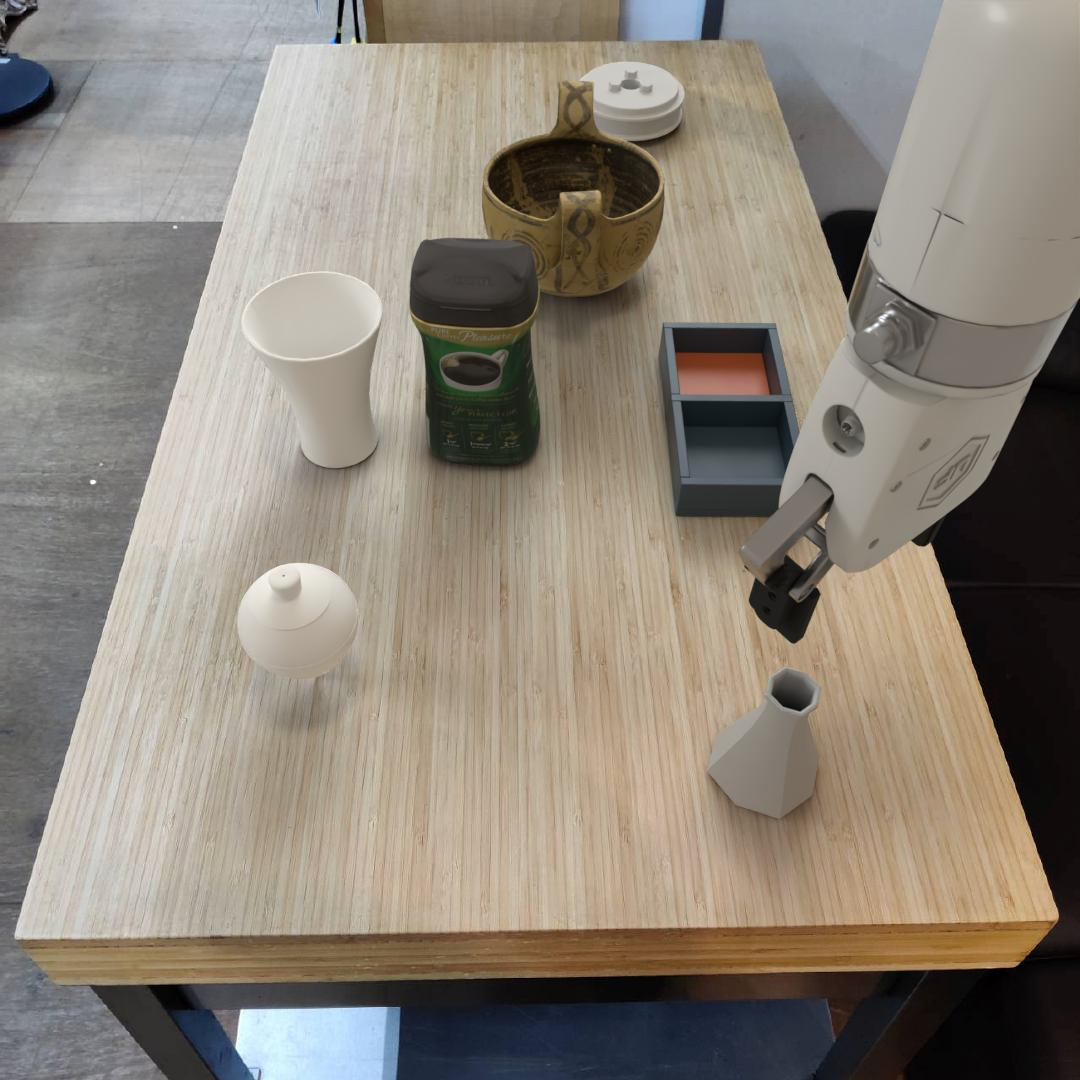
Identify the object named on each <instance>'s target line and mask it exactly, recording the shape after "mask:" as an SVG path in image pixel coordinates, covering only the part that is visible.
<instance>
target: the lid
mask: <svg viewBox="0 0 1080 1080" xmlns="http://www.w3.org/2000/svg"><path fill="white" fill-rule="evenodd" d="M578 81H590V82H594V99H593V114H594V121H595V125H596V127H597V128H598V130H599V131H601V132H602V133H604V134H606V135H608V136H611V137H616V138H620V139H623V140H626V141H628V142H640V141H648V140H652V139H658V138H659V137H663V136H666V135H667V134H670V133H671V132H673V131H674V130H675V129H676V128H677V127H678V126H679V124H680V123H681V122H682V119H683V109H682V105H683V104H684V101H685V94H686V93H685V88H684V86H683V85H682V83H681V82H680V81H679V80H678V79H677V78H676V77H675V76H674V75H672V73H670V72H669V71H667V70H665V69H664V68H661V67H659V66H657V65H654V64H650V63H645V62H639V61H617V62H609V63H605V64H602V65H599V66H597V67H594V68H593V69H591V70H590V71H588V72H587V73H586V74H584V75H583V76H582V77H581V78H580V79H579V80H578Z"/></svg>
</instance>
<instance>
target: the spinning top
mask: <svg viewBox="0 0 1080 1080" xmlns="http://www.w3.org/2000/svg"><path fill="white" fill-rule="evenodd" d="M236 622H237V624H236V625H237V627H236V628H237V633H238V638H239V640H240V644H241V646H242V647H243V649H244V651H245V652H246V653H247V655H248V656H249V657H250V659H251V660H252V661H253V662H254V663H255V664H257V665H258V666H259V667H260V668H262V669H263V670H265V671H267V672H268V673H271V674H274V675H276V676H279V677H283V678H287V679H291V680H310V679H314V678H320V677H321V676H323V675H324V674H327V673H328V672H330V671H331V670H333V669H334V668H335V667H336V666H337V665H338V664H339V663H340V662H341V661H342V660H343V659H344V657H345V656H346V654H347V653H348V652H349V650H350V648H351V646H352V644H353V643H354V641H355V638H356V635H357V631H358V627H359V607H358V604H357V599H356V598H355V595H354V593H353V592H352V590H351V588H350V587H349V585H348V584H347V583H346V581H345V580H344V579H343V578H342V577H341V576H339V574H337V573H335V572H333V571H332V570H330V569H329V568H326V567H324V566H322V565H319V564H314V563H308V562H291V563H284V564H281V565H277V566H275V567H273V568H271V569H269V570H268V571H266V572H264V574H262V575H260V577H258V578H257V579H256V580H254V582H253V583H252V584H251V585H250V586H249V587H248V589H247V590H246V592H245V594H244V596H243V597H242V599H241V602H240V604H239V607H238V611H237V618H236Z"/></svg>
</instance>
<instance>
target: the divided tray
mask: <svg viewBox="0 0 1080 1080" xmlns="http://www.w3.org/2000/svg"><path fill="white" fill-rule="evenodd" d="M779 336H780V335H779V332H778V327H777V324H776V322H685V321H683V322H682V321H681V322H678V321H676V322H675V321H674V322H671V321H669V322H666V321H663V322H662V326H661V333H660V341H659V349H658V358H659V359H658V360H659V370H660V371H659V372H660V380H661V389H662V390H661V391H662V399H663V400H662V401H663V408H664V417H665V419H664V420H665V428H666V437H667V446H668V447H667V449H668V456H669V457H668V458H669V465H670V476H671V486H672V494H673V505H674V513H675V516H676V517H769V518H770V517H771V516H772V515H773V514H774V513H775V512H776V511H777V510H778V509H779V498H780V492H781V488H782V483H783V480H784V476H785V473H786V470H787V467H788V464H789V461H790V458H791V455H792V452H793V449H794V447H795V444H796V441H797V438H798V436H799V433H800V431H801V430H800V427H799V422H798V418H797V413H796V409H795V405H794V399H793V394H792V390H791V385H790V382H789V377H788V373H787V369H786V364H785V359H784V355H783V350H782V345H781V341H780V337H779Z"/></svg>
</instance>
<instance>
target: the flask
mask: <svg viewBox="0 0 1080 1080" xmlns="http://www.w3.org/2000/svg"><path fill="white" fill-rule="evenodd" d="M822 689H823V688H822V686H821V685H820V684H819V683H818V682H817V681H816V680H815V679H814V678H813V677H812V676H811V675H810V673H808V672H807V671H804V670H800V669H798V668H794V667H790V666H787V665H785V666H783V667H782V668H780V669H778V670H777V671H776V672H774V673H772V674H770V675H769V677H768V680H767V683H766V689H765V693H764V699H763V700H762V702H761V703H759V705H758V706H757V707H755V708H752V709H751V710H750V711H748V712H746V713H745V714H744V715H742V716H741V717H739V718H737V719H736V720H735V721H733V722H732V723H730V724H729V725H727V726H726V727H724V728H723V729H721V730H720V731H718V732H716V733H715V737H714V741H713V746H712V749H711V753H710V757H709V761H708V765H707V769H706V772H707V773H708V774H709V776H710V777H711V778H712V779H713V780H714V781H715V783H716V784H717V785H718V786H719V787H720V789H721V790H722V791H723V792H724V793H725V794H726V795H727V797H728V798H729V799H730V800H731V802H732V803H733V804H734V805H735V806H737V807H739V808H743V809H747V810H749V811H752V812H753V811H754V812H757V813H760V814H763V815H765V816H769V817H772V818H776V819H778V820H781V819H783V817H785V816H786V815H787V814H789V813H790V812H792V811H793V810H795V809H796V808H797V807H799V806H800V805H801V804H803V803H804V802H806V801H807V800H808V799H810V798H811V797H812V796H813V795H814V790H815V789H814V788H815V784H816V777H817V771H818V767H819V762H820V754H819V750H818V748H817V745H816V741H815V739H814V737H813V733H812V729H811V725H810V722H809V721H810V720H809V715H810V714H811V713H812V712H814V711H816V709H818V708H819V704H820V698H821V693H822Z"/></svg>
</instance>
